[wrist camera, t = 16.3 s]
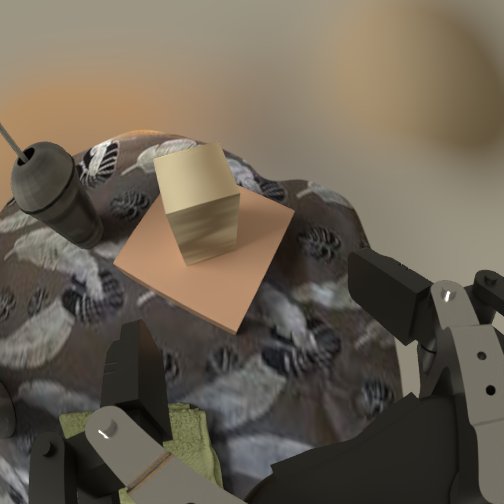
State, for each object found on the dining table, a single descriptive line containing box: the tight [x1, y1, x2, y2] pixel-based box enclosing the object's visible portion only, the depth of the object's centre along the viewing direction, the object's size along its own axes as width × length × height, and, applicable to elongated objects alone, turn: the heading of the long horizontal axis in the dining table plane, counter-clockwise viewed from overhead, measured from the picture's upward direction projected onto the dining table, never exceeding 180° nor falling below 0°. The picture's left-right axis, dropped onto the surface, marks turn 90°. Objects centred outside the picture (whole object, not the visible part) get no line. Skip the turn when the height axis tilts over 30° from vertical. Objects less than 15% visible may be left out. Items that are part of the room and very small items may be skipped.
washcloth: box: [59, 403, 224, 504], centre depth 20 cm, size 13×18×3 cm
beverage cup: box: [0, 123, 104, 249], centre depth 21 cm, size 7×7×20 cm
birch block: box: [153, 142, 240, 266], centre depth 23 cm, size 5×5×10 cm
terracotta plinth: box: [113, 185, 295, 335], centre depth 29 cm, size 14×14×4 cm
